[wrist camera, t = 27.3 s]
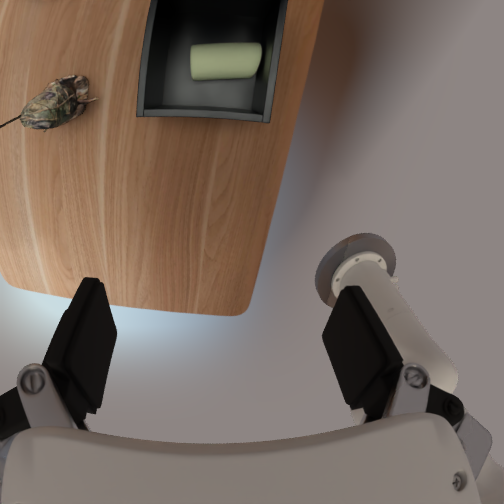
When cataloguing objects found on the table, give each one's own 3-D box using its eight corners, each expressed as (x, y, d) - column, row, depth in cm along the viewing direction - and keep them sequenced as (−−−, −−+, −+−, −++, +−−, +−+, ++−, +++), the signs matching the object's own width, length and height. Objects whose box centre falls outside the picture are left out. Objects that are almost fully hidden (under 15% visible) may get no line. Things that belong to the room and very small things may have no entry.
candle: (194, 63, 29) (255, 60, 30) (193, 88, 29) (258, 85, 30) (191, 37, 24) (259, 35, 25) (189, 62, 24) (263, 60, 25)
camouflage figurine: (92, 133, 32) (8, 176, 15) (37, 118, 28) (-52, 153, 11) (109, 81, 28) (25, 83, 12) (52, 69, 25) (-40, 77, 8)
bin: (255, 115, 34) (269, 123, 25) (157, 110, 32) (136, 117, 23) (269, 16, 26) (289, -8, 17) (170, 10, 24) (154, -17, 15)
